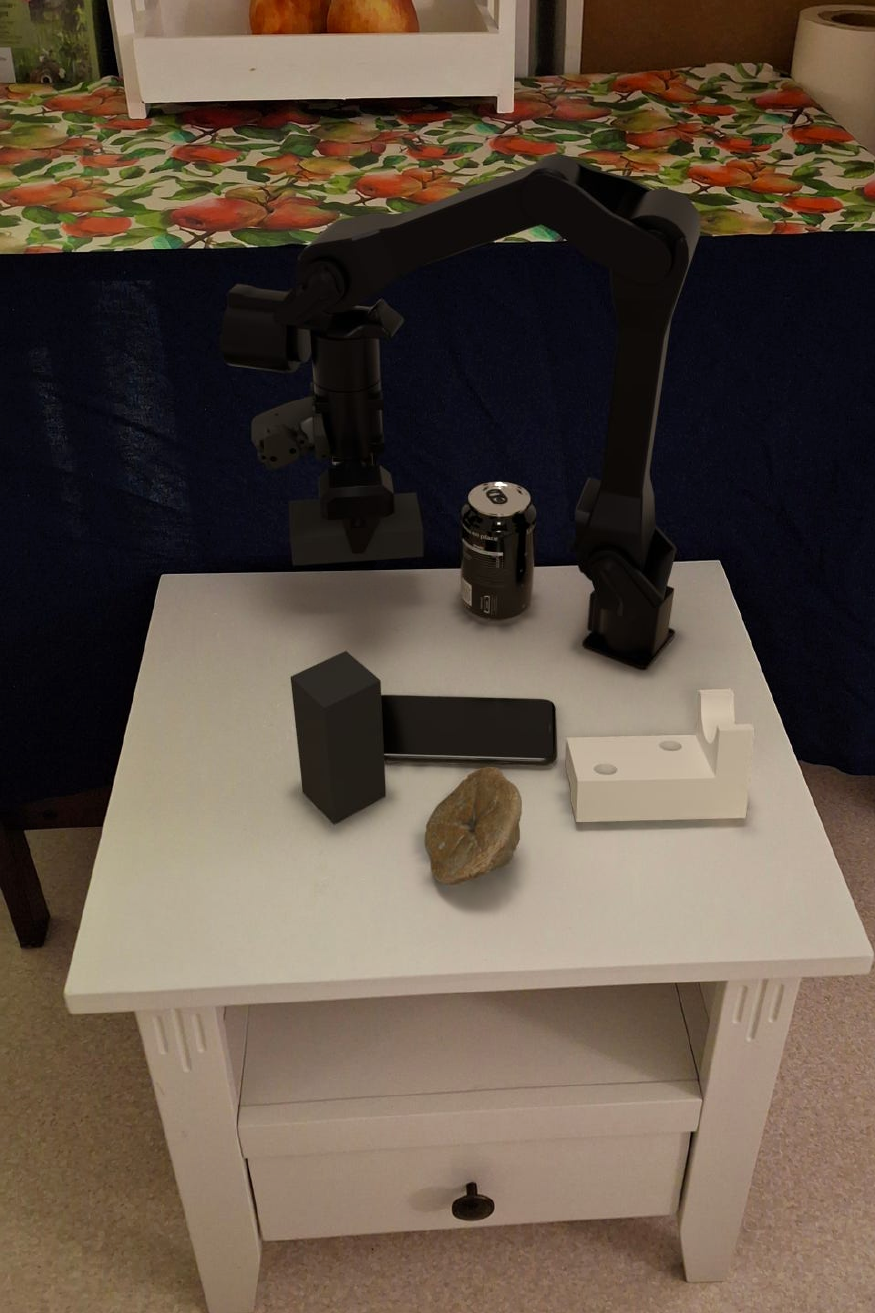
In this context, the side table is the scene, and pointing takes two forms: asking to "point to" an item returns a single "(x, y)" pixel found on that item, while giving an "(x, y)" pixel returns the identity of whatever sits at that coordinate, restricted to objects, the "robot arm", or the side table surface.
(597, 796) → the bracket
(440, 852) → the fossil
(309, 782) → the black pad block
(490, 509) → the beverage can
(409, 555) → the base pad
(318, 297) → the robot arm
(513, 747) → the smartphone
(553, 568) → the side table surface
